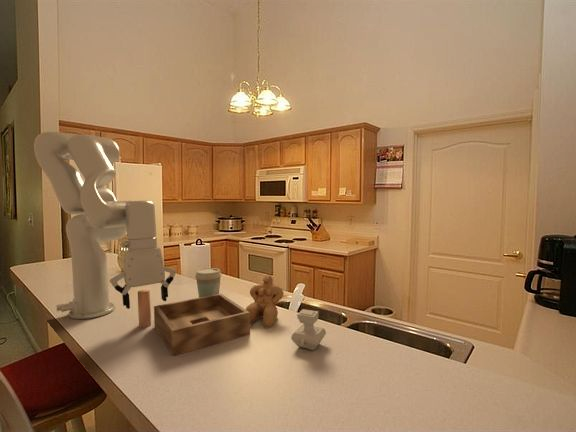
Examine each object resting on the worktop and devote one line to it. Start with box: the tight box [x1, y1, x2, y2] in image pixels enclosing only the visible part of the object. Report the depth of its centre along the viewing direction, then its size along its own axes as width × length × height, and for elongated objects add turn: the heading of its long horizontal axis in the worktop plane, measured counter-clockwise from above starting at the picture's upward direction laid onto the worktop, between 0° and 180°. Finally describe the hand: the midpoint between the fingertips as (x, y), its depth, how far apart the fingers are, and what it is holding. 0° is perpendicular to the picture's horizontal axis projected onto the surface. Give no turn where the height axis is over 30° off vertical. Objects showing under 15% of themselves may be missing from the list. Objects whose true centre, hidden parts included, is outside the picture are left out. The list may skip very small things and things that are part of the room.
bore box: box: [153, 293, 251, 357], centre depth 88 cm, size 20×20×6 cm
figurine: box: [245, 274, 285, 329], centre depth 96 cm, size 11×9×15 cm
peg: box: [137, 288, 152, 328], centre depth 92 cm, size 3×3×10 cm
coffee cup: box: [195, 267, 222, 298], centre depth 108 cm, size 9×8×12 cm
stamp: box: [290, 308, 327, 351], centre depth 79 cm, size 9×7×8 cm
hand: (146, 303), depth 91 cm, fingers open, 9 cm apart
